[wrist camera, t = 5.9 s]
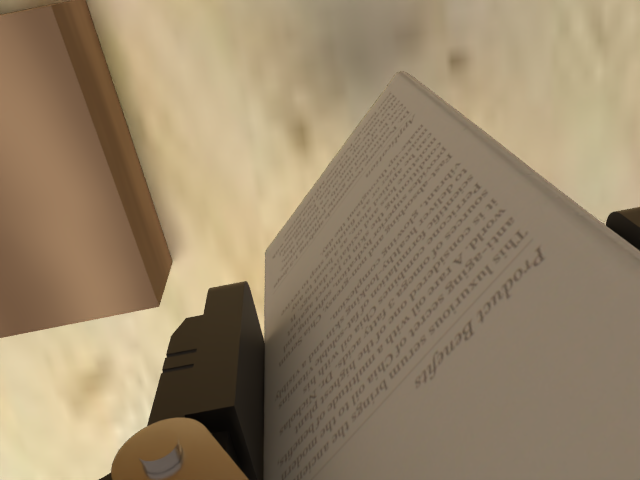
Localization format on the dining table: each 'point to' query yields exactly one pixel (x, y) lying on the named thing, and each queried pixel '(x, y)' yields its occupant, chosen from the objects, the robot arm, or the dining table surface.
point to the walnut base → (69, 181)
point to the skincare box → (447, 315)
